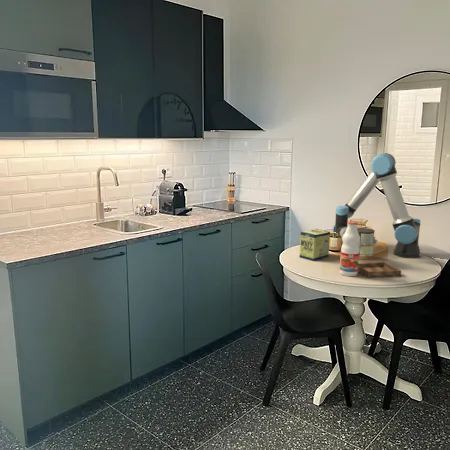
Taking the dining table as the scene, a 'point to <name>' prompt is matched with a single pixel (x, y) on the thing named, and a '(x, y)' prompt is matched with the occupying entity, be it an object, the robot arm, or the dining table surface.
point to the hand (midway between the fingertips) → (368, 242)
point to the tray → (378, 270)
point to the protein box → (314, 244)
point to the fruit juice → (350, 250)
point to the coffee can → (366, 241)
